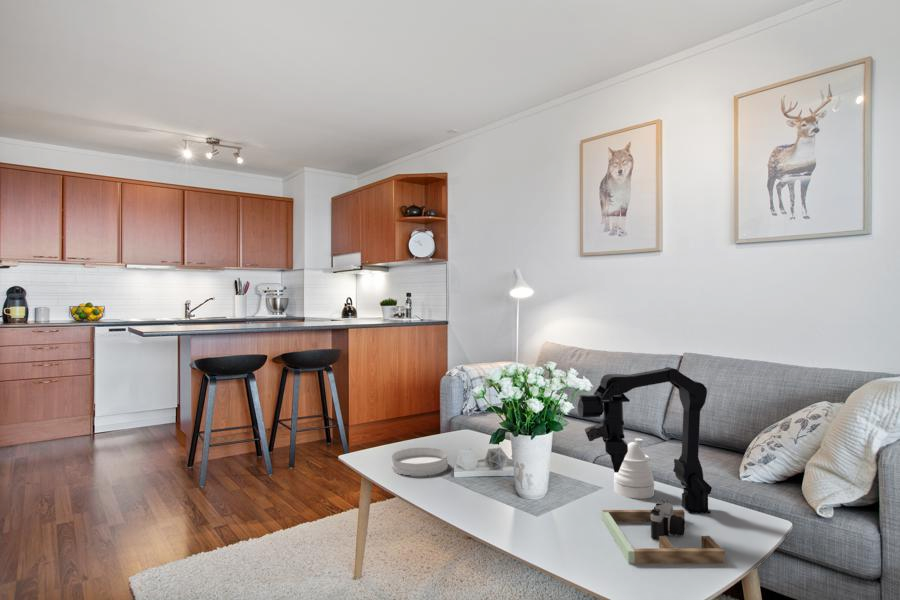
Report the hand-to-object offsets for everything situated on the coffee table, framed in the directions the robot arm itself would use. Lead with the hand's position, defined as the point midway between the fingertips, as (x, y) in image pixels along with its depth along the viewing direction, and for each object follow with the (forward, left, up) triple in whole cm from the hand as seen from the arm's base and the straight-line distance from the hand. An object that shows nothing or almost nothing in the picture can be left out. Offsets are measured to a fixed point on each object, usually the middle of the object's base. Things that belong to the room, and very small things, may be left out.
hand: (614, 467), depth 165 cm
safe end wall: (+5, +18, -14) cm, 24 cm away
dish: (+64, -46, -14) cm, 80 cm away
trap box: (-6, +18, -14) cm, 24 cm away
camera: (-11, +15, -14) cm, 23 cm away
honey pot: (-11, -18, -14) cm, 25 cm away
